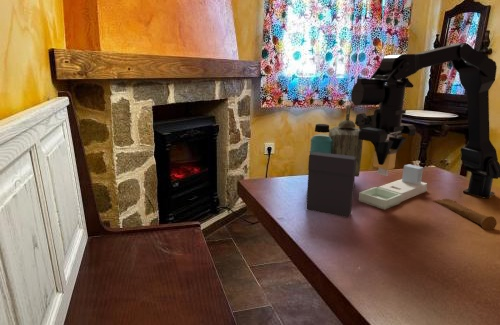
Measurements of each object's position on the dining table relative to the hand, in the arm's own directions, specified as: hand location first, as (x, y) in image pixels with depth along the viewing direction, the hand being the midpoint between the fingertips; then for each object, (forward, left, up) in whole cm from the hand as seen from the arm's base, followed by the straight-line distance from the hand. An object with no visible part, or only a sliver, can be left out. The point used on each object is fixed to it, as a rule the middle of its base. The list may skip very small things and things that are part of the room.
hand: (384, 163), depth 95 cm
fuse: (-17, 0, -11) cm, 20 cm away
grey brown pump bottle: (-5, -17, -11) cm, 21 cm away
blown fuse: (0, 0, -4) cm, 4 cm away
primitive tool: (-10, +17, -12) cm, 23 cm away
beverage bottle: (+6, -17, -11) cm, 21 cm away
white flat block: (-12, 0, -11) cm, 17 cm away
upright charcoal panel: (+17, -4, -11) cm, 21 cm away
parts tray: (0, 0, -11) cm, 11 cm away
